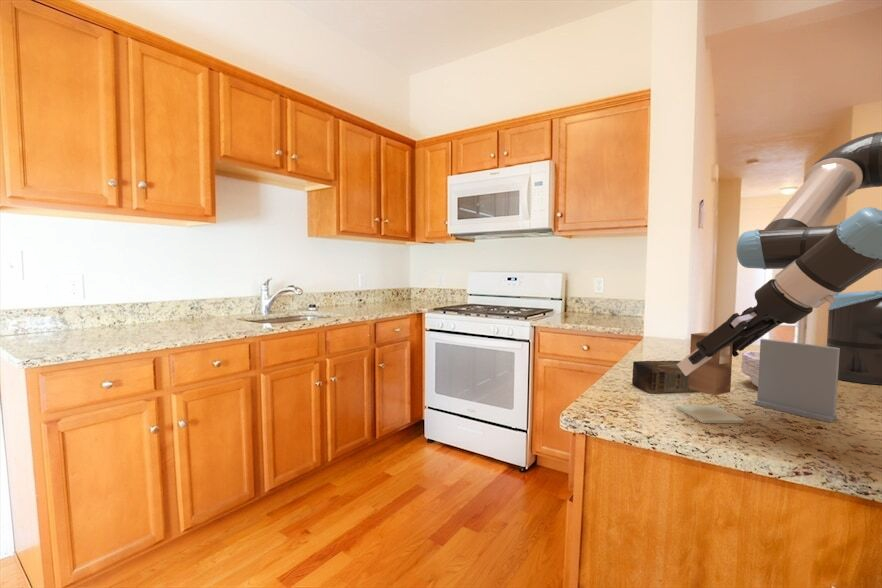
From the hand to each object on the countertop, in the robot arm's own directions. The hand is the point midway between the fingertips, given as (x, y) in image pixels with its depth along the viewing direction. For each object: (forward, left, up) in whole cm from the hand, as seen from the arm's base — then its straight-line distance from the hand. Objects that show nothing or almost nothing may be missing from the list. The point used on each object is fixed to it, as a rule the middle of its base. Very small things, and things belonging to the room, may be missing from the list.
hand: (691, 368), depth 83 cm
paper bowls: (-31, -14, -9) cm, 35 cm away
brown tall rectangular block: (-2, +3, -3) cm, 5 cm away
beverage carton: (-6, -15, -9) cm, 19 cm away
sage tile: (-2, +3, -9) cm, 9 cm away
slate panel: (-21, +1, -9) cm, 23 cm away
